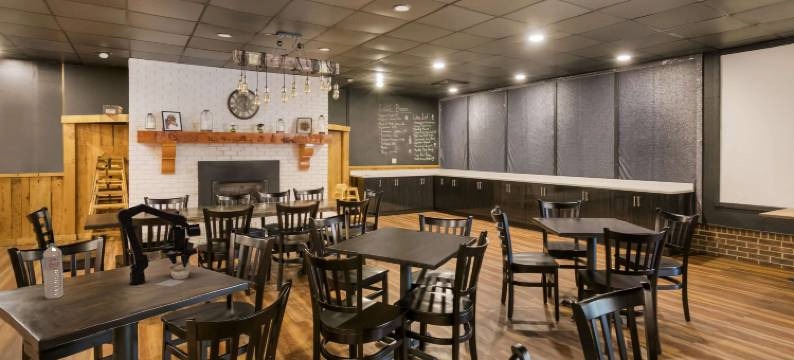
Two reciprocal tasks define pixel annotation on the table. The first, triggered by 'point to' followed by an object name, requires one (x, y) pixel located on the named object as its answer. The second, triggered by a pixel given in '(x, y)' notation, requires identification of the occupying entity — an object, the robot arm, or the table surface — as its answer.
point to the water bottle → (53, 272)
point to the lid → (179, 266)
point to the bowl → (180, 273)
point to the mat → (169, 282)
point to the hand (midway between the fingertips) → (179, 266)
